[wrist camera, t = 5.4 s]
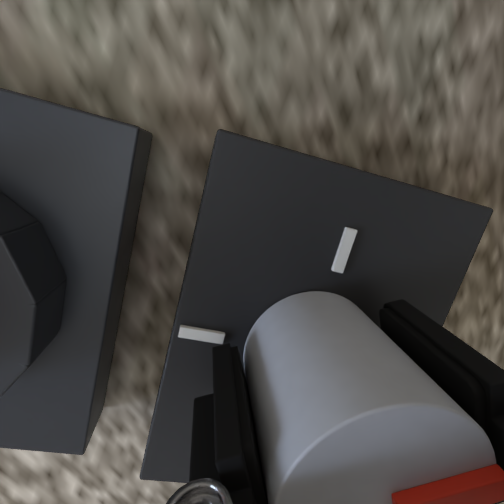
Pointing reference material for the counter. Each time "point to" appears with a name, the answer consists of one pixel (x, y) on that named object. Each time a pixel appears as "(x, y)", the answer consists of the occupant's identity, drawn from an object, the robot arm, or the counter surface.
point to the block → (62, 265)
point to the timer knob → (356, 414)
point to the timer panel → (297, 263)
